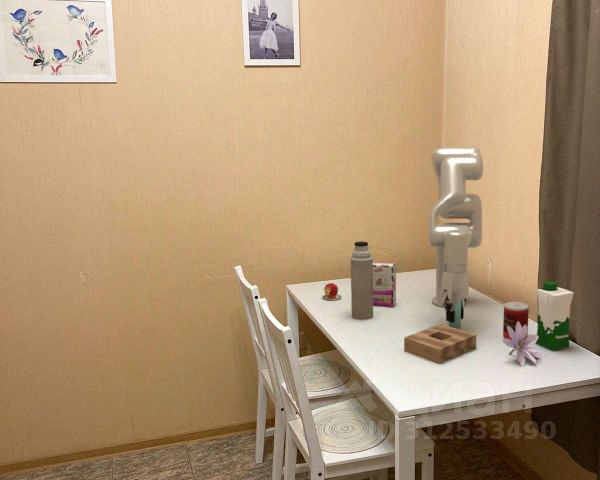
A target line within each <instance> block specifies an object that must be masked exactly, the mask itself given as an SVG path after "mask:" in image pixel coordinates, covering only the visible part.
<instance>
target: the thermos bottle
mask: <svg viewBox="0 0 600 480" xmlns="http://www.w3.org/2000/svg"><path fill="white" fill-rule="evenodd" d="M373 258H374V257H373V256H372V253H371V250H370V249H369V242H368V241H355V242H354V250H353V251H352V254H351V257H350V288H351V289H350V290H351V298H350V299H351V300H350V301H351V318H352V319H355V320H358V321H359V320H362V321H363V320H365V321H366V320H370V319H373V317H374V306H373V262H374V260H373Z"/></svg>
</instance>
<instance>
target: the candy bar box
mask: <svg viewBox="0 0 600 480" xmlns="http://www.w3.org/2000/svg"><path fill="white" fill-rule="evenodd" d="M396 265H397V264H396V263H388V262H374V261H373V307H374V306H376V307H385V308H387V307H388V308H394V307H395V306H396V305H397V278H396V277H397V271H396V269H397V268H396V267H397V266H396Z"/></svg>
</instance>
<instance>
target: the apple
mask: <svg viewBox="0 0 600 480" xmlns="http://www.w3.org/2000/svg"><path fill="white" fill-rule="evenodd" d="M323 290H324V295H322V296H321V298H322V299H323V300H325V301H326V300H327V301H337V300H340V299H342V295H340V294H338V292H339V287H338V285H337V284H335V283H334V282H333V283H332V282H331V283H330V282H329V283H327V284H325V286H324V289H323Z"/></svg>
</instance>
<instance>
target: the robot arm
mask: <svg viewBox="0 0 600 480" xmlns="http://www.w3.org/2000/svg"><path fill="white" fill-rule="evenodd" d="M431 165H432V168H433V171H434V174H435V177H436V179H437V184H438V186H437V187H438V189H437V191H438V196H437V199H438V201H437V202H436V203H435V205H433V207H432V209H431V211H430V213H429V216H428V240H429V244H430V246H432V247H434V248H435V250H436V253H435V254H436V256H435V257H436V265H435V266H436V272H435V273H436V276H435V277H436V278H435V281H436V283H435V296H434V297H432V299H431V303H432V304H433V305H435V306H438V307H441V308H444V310H445V321H446V322H448V323H449V322H452V323H454V322H455V311H453V310H454V304H455V302H457V301H459V300H461V320H463V319H465V318H464V317H465V316H464V314H465V313H464V312H465V311H464V308H465V307H466V302H467V301H468V298H469V297H470V293H469V291H470V290H469V289H470V283H469V281H470V280H469V273H468V258H469V256H468V254H469V253H468V252H469V248H470V249H471V248H472V249H473V248H479V247H480V246H481V245H482V240H483V204H482V199H481V197H480V196H479V195H478V194H476V193H467V184H466V181H479V180H481V179H482V178H483V175H484V162H483V158H482V154H481V150H480V149H479V148H478V147H476V146H448V147H447V146H446V147H445V146H444V147H438V148H436V149H434V150H433V151H432V153H431ZM439 216H440V217H441V218H443V219H446V220H448V219H449V220H468V221H469V222H441V223H439V224H437V221H438V218H439ZM449 303H451V306H450V305H449Z"/></svg>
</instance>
